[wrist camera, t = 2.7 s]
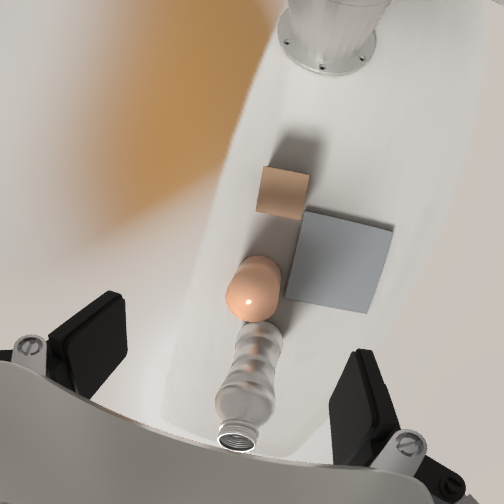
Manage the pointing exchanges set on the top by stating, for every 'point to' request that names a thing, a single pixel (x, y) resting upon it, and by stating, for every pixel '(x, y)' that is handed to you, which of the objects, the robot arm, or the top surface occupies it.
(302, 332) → the top surface
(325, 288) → the slate mat
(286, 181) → the copper block
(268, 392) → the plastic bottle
